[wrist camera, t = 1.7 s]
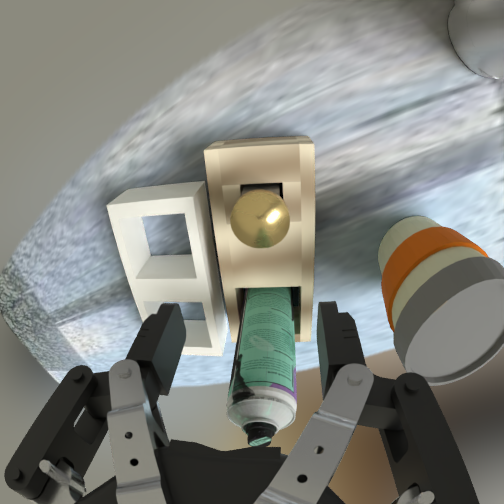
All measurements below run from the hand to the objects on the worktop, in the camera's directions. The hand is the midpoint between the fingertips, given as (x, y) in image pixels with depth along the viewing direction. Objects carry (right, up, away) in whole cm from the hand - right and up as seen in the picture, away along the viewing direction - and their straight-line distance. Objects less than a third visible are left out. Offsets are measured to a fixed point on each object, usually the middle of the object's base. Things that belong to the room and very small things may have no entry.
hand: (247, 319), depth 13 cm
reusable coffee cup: (+19, +3, +19) cm, 27 cm away
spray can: (+2, -1, +23) cm, 23 cm away
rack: (-8, +1, +22) cm, 24 cm away
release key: (+1, +8, +14) cm, 16 cm away
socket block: (+2, +5, +20) cm, 20 cm away
